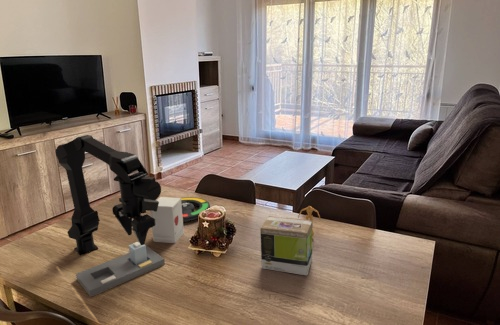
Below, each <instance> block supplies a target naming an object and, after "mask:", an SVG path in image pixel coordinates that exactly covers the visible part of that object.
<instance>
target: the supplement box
mask: <svg viewBox="0 0 500 325" xmlns="http://www.w3.org/2000/svg"><path fill="white" fill-rule="evenodd" d="M181 198H182V197H167V196H166V197H165V196H162V197H161V196H159V197H158V198H157V199H156V201H158V202H159V205H158V209H157V211H156V212H155V211H149V212H150V216H151V217H152V218H154V219H155V222H156V225H155V226H153V227H152V228H151V230H152V238H153V240H152V241H153V242H154V243H155V242H156V243H166V244H167V243H168V244H177V242H178V241H179V240H180V238H181V237H183V235H185V234H184V233H185V232H184V222H183V216H182V205H181Z"/></svg>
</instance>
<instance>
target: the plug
mask: <svg viewBox="0 0 500 325" xmlns="http://www.w3.org/2000/svg"><path fill="white" fill-rule="evenodd" d="M146 246H147V245H146V244H144V245H141V244H140V243H139V241H135V242H133V243H131V244H128V249H129V251H128V253H130V259H131V263H132V264H134V265H137V264H140V263H142V262H144V261H147V252H146Z"/></svg>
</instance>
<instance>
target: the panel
mask: <svg viewBox="0 0 500 325" xmlns="http://www.w3.org/2000/svg"><path fill="white" fill-rule="evenodd" d="M146 252H147V261H144V262H142V263H140V264H137V265H134V264H132V263H131V259H130V252H128V253H126V254H123V255H121V256H118V257H116V258H113V259H110V260H107V261H105V262H103V263H100V264H97V265H94V266H92V267H90V268H87V269H84V270H82V271H80V272H77V273H75V277H76V280H77V282H78V283H79V284H80V285H81V287H82V288H83V289H84V291H85V292H86V293H87V294H88V296H89V297H90V298H91V297H92V298H93V296H96V295H99V294H100V293H103V292H106V291H108V290H111V289H112V288H114V287H117V286H118V285H121V284H124V283H126V282H128V281H131V280H132V279H135V278H137V277H139V276H142V275H144V274H147V273H149V272H151V271H154V270H155V269H157V268H161V267H162V266H165V264H166V263H165V262H166V261H165V258H164V257H162V256H161V255H160V254H159V253H158V252H156V251H154V250H153V249H152V248H150V247H149V246H148V245H146Z"/></svg>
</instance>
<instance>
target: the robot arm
mask: <svg viewBox="0 0 500 325" xmlns="http://www.w3.org/2000/svg"><path fill="white" fill-rule="evenodd" d="M86 153H87V154H89V155H91V156H93V157H94V158H97V159H98V160H100V161H102V162H103V163H105V164H107V165H108V167H109V169H110V170H111V172H112V173H114V174H115V175H116V176H115V177H114V178H113V181H115V182H118V184H119V192H120V198H118V201H119V202H120V203H119V204H114V205H113V207H112V214H113V215H114V217H115V219H117V221H118V222H119V224H120V225H121V227H122V228H123V230H124V231H125V233H126V234H127V235H128V236H131V235H132V234H133V233H134V235H135V237H136V239H137V242H139V243H140V244H141V245H144V244H145V243H146V240H147V234H148V232H149V230H150V229H152V227H153V226H155V225H156V222H155V219H154V218H152V217H151V215H149V214H148V213H147V212H150V211H155V212H156V211H157V209H158V205H159V202H158V201H156V200H158V199H159V198H160V197H161V196H160V195H161V193H162V185H161V184H160V183H159V182H158V181H156V178H155V176H148V175H149V173H148V172H147V169H146V167H145V166H144V165H143V163H142V162H141V160H140V159H139V157H138V156H137V155H136V154H134V153H131V152H129V151H121V150H120V151H119V150H116V149H114V148H112V147H110V146H108V145H107V144H105V143H103V142H101V141H99V140H97V139H96V138H94V137H93V136H92V135H90V134H85V135H80V136H78V137H76V138H74V139H73V140H70V141H69V142H66V143H62V144H59V145H58V146H57V147H56V148H55V156H56V158H57V161H58V163H59V165H61V167H62V168H64V169H65V171H66V172H65V173H66V176H67V180H68V186H69V190H70V195H71V199H72V204H73V209H74V210H73V212H72V216H71V220H70V221H71V226H70V228H69V229H68V231H67V235H68V237H69V239H73V240H75V243H76V247H74V251H75V252H76V253H77V254H78V255H79V256H83V255H86V254H89V253H91V252H94V251H97V250H99V246H97V245H96V244H95V240H94V236H93V234H94V233H95V232H97V231H98V230H99V226H100V221H101V220H100V217H99V212H98V210H94V208H92V207H91V205H90V199H89V195H88V189H87V186H86V181H85V179H86V178H85V174H84V171H83V165H84V164H85V161H86ZM142 214H143V215H142ZM145 245H146V244H145Z"/></svg>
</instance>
